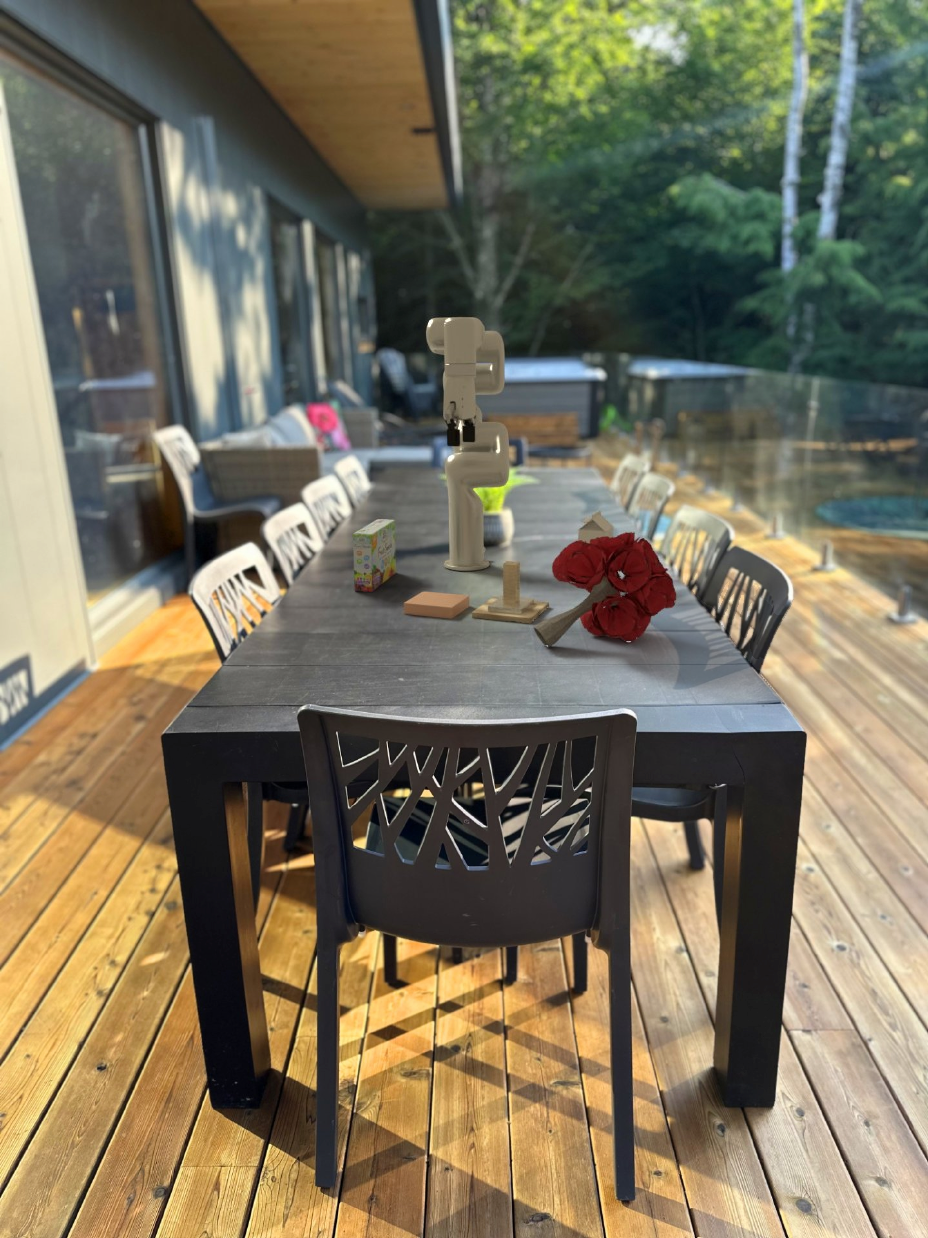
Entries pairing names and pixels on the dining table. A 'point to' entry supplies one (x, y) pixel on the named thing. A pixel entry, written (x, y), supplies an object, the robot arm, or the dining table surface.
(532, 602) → the wooden post on base
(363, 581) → the snack box
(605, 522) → the milk carton
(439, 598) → the tile
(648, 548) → the bouquet
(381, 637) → the dining table surface
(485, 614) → the wooden base plate
